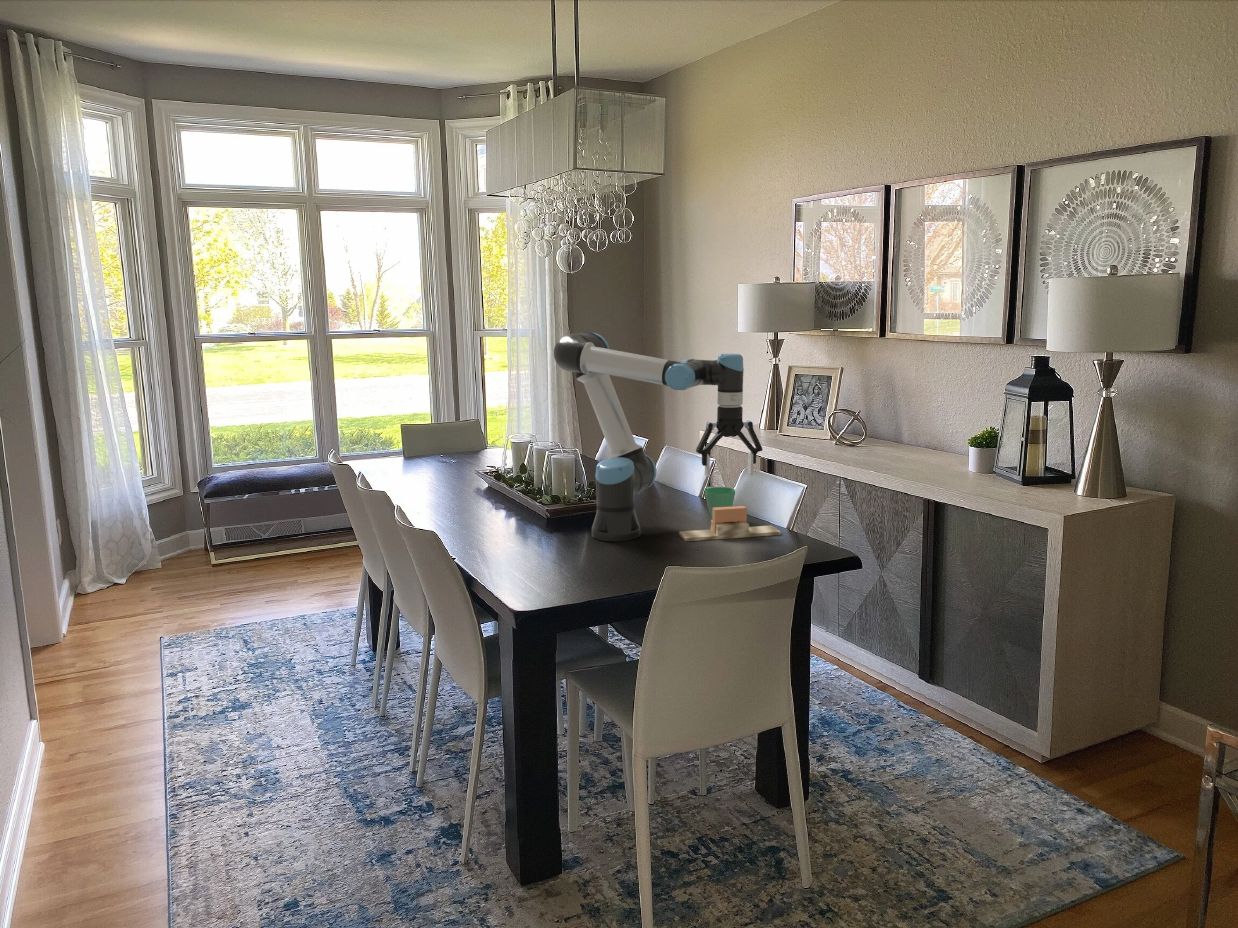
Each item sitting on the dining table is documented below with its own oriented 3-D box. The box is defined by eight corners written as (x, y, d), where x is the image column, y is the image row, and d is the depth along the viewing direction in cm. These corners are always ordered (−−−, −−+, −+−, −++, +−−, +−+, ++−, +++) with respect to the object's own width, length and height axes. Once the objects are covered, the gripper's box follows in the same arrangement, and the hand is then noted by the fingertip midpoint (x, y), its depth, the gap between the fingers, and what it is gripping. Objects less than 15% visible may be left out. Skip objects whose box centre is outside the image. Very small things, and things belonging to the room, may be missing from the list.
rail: (685, 541, 277) (685, 528, 276) (679, 534, 285) (678, 522, 284) (780, 534, 282) (780, 522, 282) (771, 528, 290) (772, 516, 289)
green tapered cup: (740, 521, 299) (740, 491, 297) (713, 524, 296) (713, 494, 294) (720, 512, 313) (720, 483, 311) (693, 515, 309) (693, 485, 307)
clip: (715, 533, 281) (715, 509, 280) (712, 531, 284) (712, 507, 283) (746, 531, 283) (746, 507, 281) (743, 529, 286) (743, 505, 284)
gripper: (692, 408, 270) (692, 479, 274) (774, 406, 275) (772, 475, 279) (686, 405, 278) (685, 474, 282) (765, 403, 282) (764, 471, 286)
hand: (728, 475), depth 280 cm, fingers open, 13 cm apart
